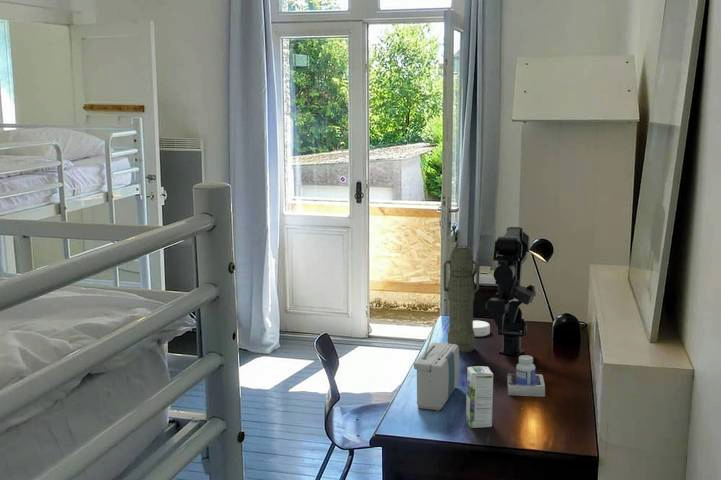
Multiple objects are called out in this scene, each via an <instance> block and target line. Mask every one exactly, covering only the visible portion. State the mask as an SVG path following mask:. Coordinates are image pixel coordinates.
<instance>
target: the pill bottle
mask: <svg viewBox="0 0 721 480" xmlns="http://www.w3.org/2000/svg"><path fill="white" fill-rule="evenodd" d="M515 366H516V367H515V374H516V384H524V385H535V374H536V365H535V364H534V357H533V356H531V355H529V354H528V355H527V354H526V355H523V354H522V355H518V363H516V365H515Z"/></svg>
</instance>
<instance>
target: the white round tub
mask: <svg viewBox="0 0 721 480" xmlns="http://www.w3.org/2000/svg"><path fill="white" fill-rule="evenodd" d="M473 331H474V338H475V337H485V336H489V335H490V333H491V325H490V323H489V322H487V321H483V320H473Z"/></svg>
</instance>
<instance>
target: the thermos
mask: <svg viewBox="0 0 721 480" xmlns="http://www.w3.org/2000/svg"><path fill="white" fill-rule="evenodd" d="M448 264H449V271H450V273H449V278H448V282H447V265H448ZM474 265H475V267H476V269H475V270H476V271H475V272H476V276H475V277H476V278H475V279H476V282H475V280H474V274H473V271H474ZM480 267H481V265H480V264H479V262H478V261H477V260H474V256H473V252H472V248H471V247H469V246H468V245H455V246H453V247H452V248H451V251H450V254H449V259H447V260H445V261H444V263H443V291H444V292H446V293H447V298H448V303H449V304H448V305H449V306H448V307H449V308H448V309H449V318H448V319H449V320H448V321H449V323H448V325H449V327H448V329H447V344H456V345H458V347H459V354H464V353H465V354H466V353H471V352H472V351H474V350H475V347H474V346H475V345H474V344H475V336H474V331H473V321H474V300H475V294H476V293H477V292H478V291H479V290H480ZM475 285H476V286H475Z"/></svg>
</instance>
